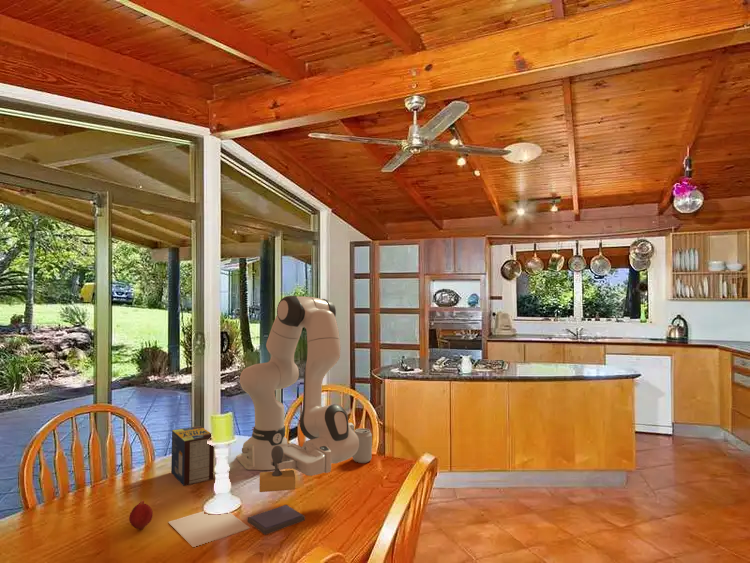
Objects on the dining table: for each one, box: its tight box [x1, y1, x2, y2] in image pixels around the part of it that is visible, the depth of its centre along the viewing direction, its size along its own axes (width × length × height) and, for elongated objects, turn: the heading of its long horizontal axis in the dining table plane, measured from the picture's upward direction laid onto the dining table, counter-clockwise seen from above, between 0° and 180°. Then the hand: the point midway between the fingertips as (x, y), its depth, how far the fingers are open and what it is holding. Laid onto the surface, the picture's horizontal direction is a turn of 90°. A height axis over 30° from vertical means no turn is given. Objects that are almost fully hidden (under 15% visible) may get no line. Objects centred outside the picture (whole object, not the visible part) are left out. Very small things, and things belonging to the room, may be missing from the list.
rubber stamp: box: [258, 446, 296, 493], centre depth 142 cm, size 10×6×12 cm, turn 103°
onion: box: [128, 500, 154, 531], centre depth 136 cm, size 6×6×8 cm
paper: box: [167, 510, 250, 548], centre depth 139 cm, size 18×16×1 cm
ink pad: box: [247, 504, 306, 536], centre depth 142 cm, size 10×13×2 cm
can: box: [352, 427, 373, 464], centre depth 193 cm, size 8×8×12 cm
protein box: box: [170, 425, 215, 487], centre depth 175 cm, size 10×15×16 cm
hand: (274, 464), depth 142 cm, fingers closed on rubber stamp, 2 cm apart
